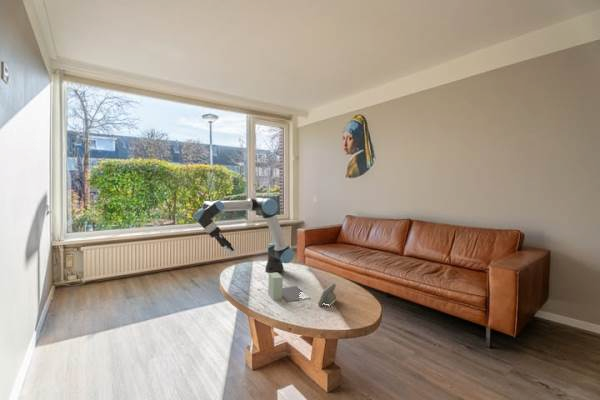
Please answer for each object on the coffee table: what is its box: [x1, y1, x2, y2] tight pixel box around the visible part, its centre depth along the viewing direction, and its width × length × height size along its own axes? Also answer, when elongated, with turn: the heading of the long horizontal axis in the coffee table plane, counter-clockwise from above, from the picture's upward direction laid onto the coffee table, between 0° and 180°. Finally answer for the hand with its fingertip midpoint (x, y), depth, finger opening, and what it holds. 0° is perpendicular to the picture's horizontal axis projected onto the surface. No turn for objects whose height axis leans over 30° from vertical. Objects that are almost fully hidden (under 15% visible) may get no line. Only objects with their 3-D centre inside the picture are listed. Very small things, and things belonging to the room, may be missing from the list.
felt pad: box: [282, 285, 304, 303], centre depth 189 cm, size 16×22×1 cm
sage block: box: [267, 272, 284, 301], centre depth 183 cm, size 6×10×14 cm, turn 24°
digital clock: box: [317, 283, 337, 306], centre depth 176 cm, size 16×9×11 cm, turn 139°
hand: (233, 253), depth 191 cm, fingers open, 13 cm apart
